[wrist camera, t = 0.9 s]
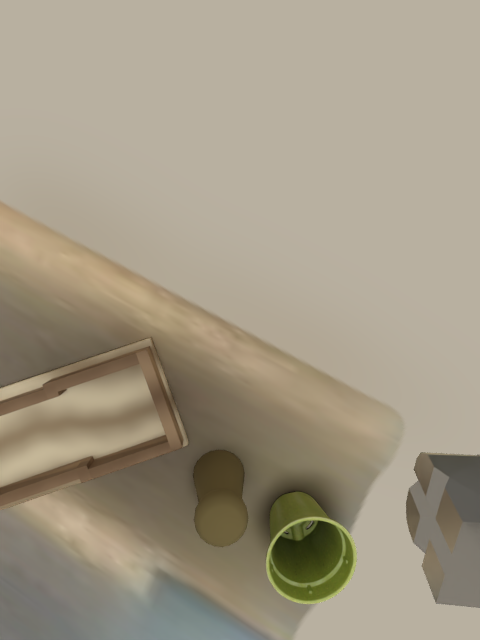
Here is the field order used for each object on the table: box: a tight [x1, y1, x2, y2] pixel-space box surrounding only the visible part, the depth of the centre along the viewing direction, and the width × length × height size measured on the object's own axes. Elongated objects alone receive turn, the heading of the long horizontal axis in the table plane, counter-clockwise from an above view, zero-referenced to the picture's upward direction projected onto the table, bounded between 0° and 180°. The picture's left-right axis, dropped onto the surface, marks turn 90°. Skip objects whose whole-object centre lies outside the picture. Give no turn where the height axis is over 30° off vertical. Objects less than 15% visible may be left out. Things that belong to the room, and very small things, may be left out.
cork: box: [193, 450, 248, 547], centre depth 46 cm, size 6×6×11 cm
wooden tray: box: [0, 337, 189, 510], centre depth 48 cm, size 13×26×4 cm, turn 108°
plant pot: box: [266, 492, 357, 604], centre depth 48 cm, size 9×9×9 cm
